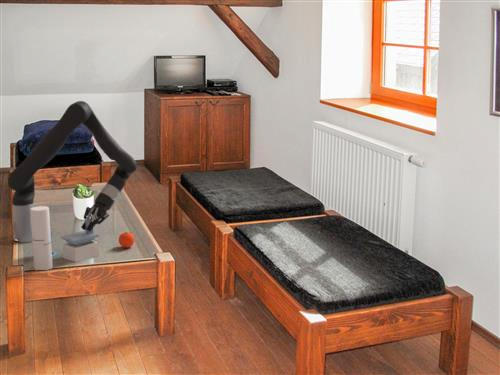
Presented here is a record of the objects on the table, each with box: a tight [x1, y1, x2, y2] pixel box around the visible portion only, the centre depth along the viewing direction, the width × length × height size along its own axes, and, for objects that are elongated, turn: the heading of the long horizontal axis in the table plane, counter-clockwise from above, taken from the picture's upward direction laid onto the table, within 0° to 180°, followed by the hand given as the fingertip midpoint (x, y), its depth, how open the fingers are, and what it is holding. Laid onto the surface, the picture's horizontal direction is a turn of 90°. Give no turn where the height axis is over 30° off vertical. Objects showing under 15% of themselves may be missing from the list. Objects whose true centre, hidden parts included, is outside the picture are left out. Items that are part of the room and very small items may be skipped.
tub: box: [62, 240, 100, 263], centre depth 319 cm, size 12×9×6 cm
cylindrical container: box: [30, 205, 54, 271], centre depth 302 cm, size 7×7×25 cm
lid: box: [60, 218, 100, 245], centre depth 317 cm, size 12×9×8 cm
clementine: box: [118, 231, 135, 249], centre depth 333 cm, size 8×7×7 cm
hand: (85, 229), depth 319 cm, fingers closed on lid, 3 cm apart
